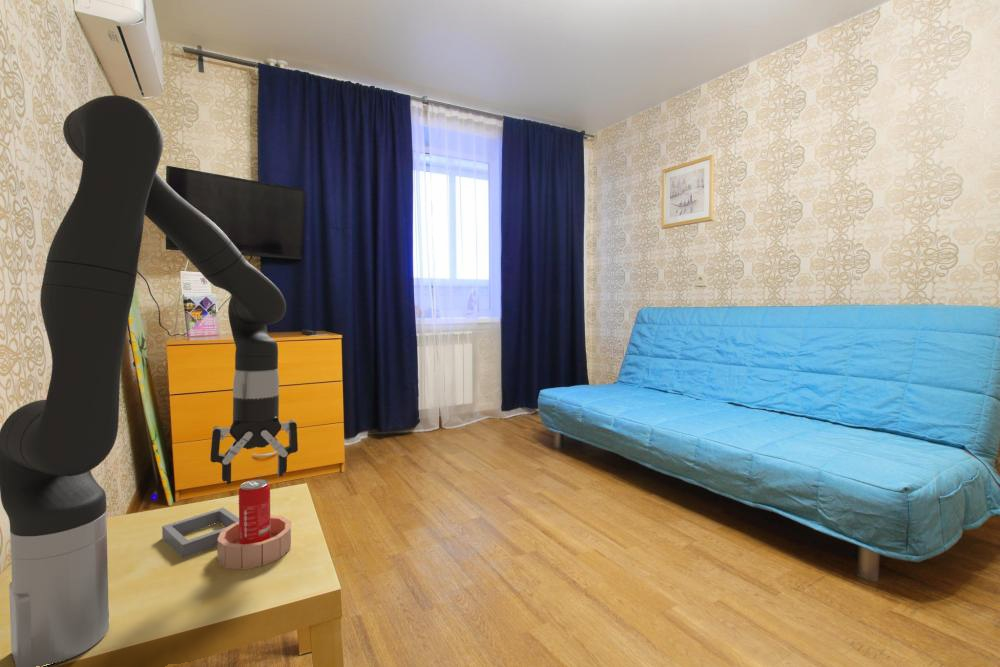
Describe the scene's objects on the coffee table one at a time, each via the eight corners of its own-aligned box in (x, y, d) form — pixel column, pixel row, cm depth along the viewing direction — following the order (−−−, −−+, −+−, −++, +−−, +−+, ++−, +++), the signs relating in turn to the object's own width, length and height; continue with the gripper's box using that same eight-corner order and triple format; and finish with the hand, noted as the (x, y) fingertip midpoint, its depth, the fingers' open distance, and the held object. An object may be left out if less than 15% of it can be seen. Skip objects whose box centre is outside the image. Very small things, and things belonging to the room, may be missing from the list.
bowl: (235, 577, 76) (235, 554, 76) (207, 553, 84) (207, 532, 83) (302, 548, 86) (302, 528, 86) (272, 528, 93) (272, 510, 93)
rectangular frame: (182, 558, 82) (182, 544, 82) (162, 538, 88) (162, 526, 88) (246, 534, 90) (246, 523, 90) (223, 518, 97) (223, 507, 97)
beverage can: (246, 556, 81) (246, 491, 80) (234, 546, 84) (233, 484, 84) (275, 544, 85) (275, 483, 84) (262, 536, 88) (262, 476, 88)
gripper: (211, 399, 76) (209, 492, 77) (301, 394, 84) (299, 479, 85) (211, 392, 83) (210, 479, 83) (294, 388, 90) (293, 467, 91)
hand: (255, 479), depth 84 cm, fingers open, 8 cm apart
